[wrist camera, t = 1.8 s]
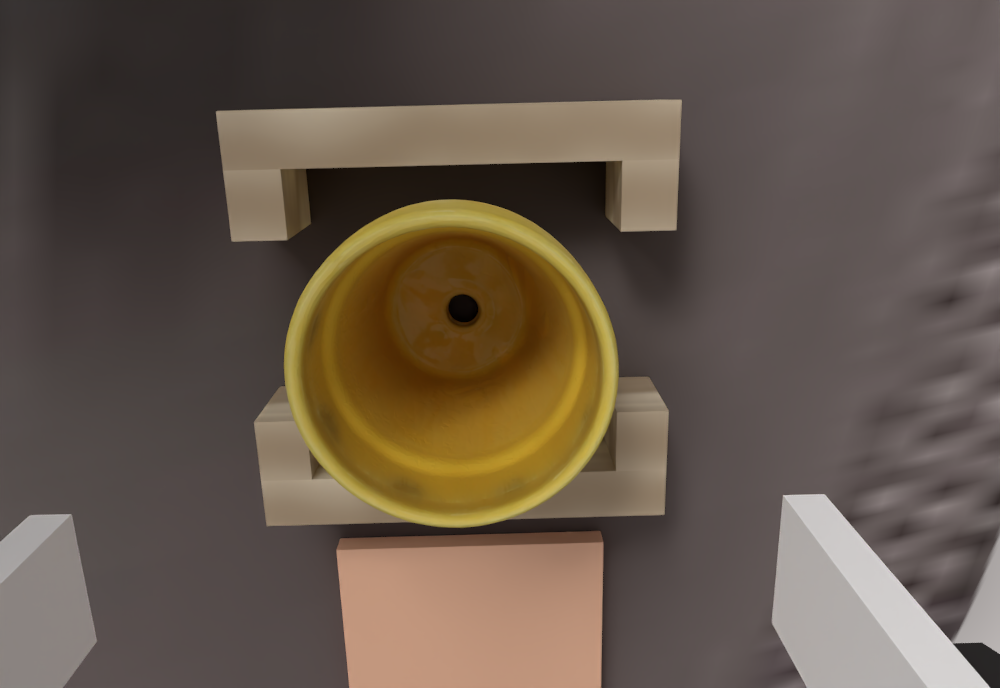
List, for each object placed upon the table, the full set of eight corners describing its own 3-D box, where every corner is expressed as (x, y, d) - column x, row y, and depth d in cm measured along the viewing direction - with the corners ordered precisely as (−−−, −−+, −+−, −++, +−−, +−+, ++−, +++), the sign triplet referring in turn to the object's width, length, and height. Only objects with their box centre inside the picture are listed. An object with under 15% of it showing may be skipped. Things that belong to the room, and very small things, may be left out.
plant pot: (614, 213, 33) (665, 259, 23) (547, 439, 35) (569, 561, 26) (365, 149, 32) (313, 170, 22) (317, 387, 35) (254, 493, 25)
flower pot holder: (248, 109, 31) (215, 111, 27) (658, 99, 31) (681, 99, 27) (290, 480, 36) (266, 526, 32) (645, 470, 36) (664, 514, 32)
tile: (340, 538, 37) (336, 550, 36) (600, 530, 37) (603, 542, 36) (359, 748, 40) (356, 764, 39) (597, 741, 40) (599, 756, 39)
